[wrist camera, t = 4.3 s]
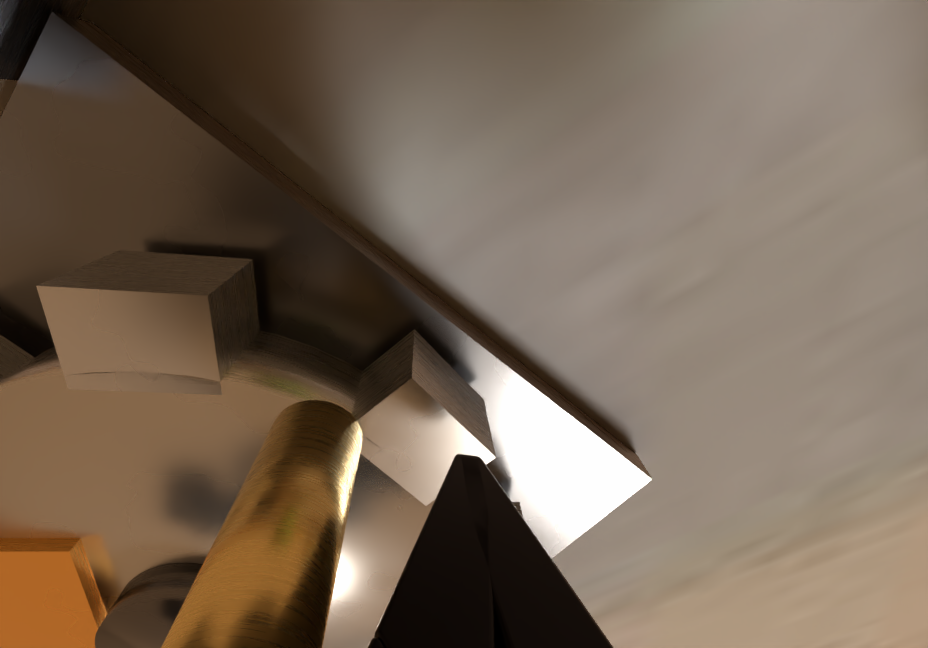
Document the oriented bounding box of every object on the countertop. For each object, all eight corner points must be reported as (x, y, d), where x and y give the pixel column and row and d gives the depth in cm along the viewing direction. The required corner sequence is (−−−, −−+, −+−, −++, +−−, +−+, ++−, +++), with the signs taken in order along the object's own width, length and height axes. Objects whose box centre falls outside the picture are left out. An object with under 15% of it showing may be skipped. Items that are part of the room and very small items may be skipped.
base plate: (637, 454, 13) (652, 479, 12) (323, 709, 18) (318, 741, 17) (93, 24, 8) (51, 11, 7) (-170, 533, 12) (-218, 566, 11)
